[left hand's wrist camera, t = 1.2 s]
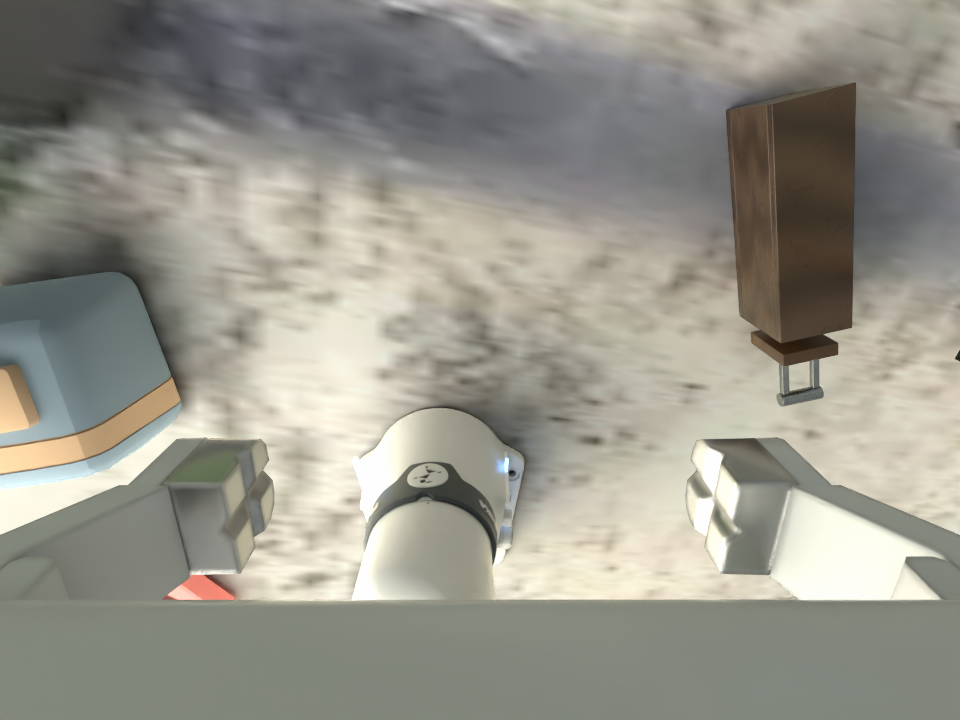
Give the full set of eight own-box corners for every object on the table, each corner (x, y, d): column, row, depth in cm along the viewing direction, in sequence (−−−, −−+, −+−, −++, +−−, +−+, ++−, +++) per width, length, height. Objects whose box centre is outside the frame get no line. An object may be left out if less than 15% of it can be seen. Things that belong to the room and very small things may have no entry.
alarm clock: (51, 430, 59) (-92, 526, 44) (-20, 286, 53) (-214, 341, 38) (195, 412, 58) (98, 504, 43) (139, 264, 52) (4, 312, 37)
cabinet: (800, 302, 54) (852, 327, 46) (739, 315, 54) (780, 343, 47) (796, 91, 47) (856, 82, 39) (725, 109, 47) (771, 104, 40)
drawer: (801, 378, 56) (838, 405, 50) (753, 388, 56) (785, 416, 51) (795, 140, 47) (839, 140, 41) (740, 154, 48) (775, 156, 42)
